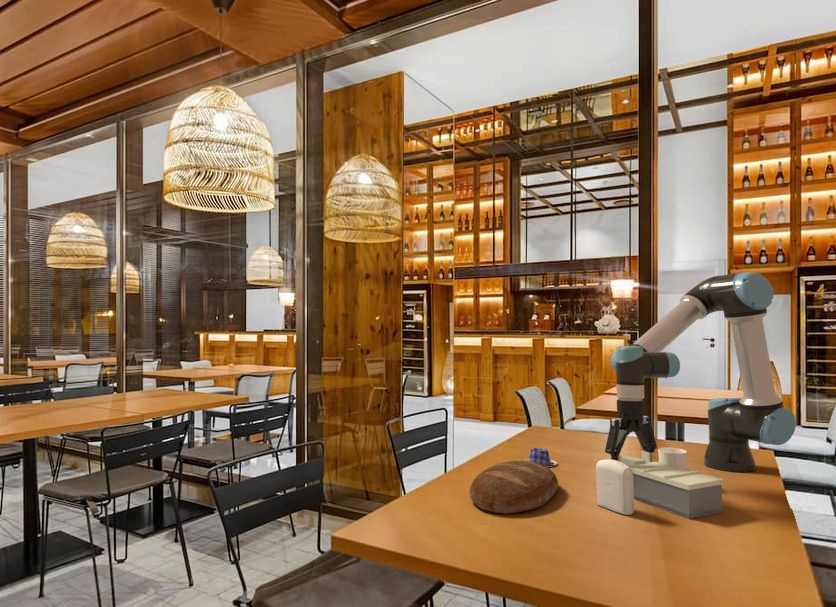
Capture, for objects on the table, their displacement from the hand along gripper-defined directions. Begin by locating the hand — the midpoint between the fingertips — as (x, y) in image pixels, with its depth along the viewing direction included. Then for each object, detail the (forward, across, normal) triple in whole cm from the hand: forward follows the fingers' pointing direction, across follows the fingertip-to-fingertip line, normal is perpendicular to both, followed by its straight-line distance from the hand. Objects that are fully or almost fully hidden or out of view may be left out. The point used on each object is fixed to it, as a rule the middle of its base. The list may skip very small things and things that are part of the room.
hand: (632, 476), depth 155 cm
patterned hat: (+4, +5, -36) cm, 37 cm away
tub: (+4, 0, +14) cm, 14 cm away
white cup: (+4, -16, 0) cm, 17 cm away
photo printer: (+4, +17, +10) cm, 20 cm away
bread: (+4, +33, -11) cm, 35 cm away
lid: (-2, 0, +11) cm, 11 cm away
